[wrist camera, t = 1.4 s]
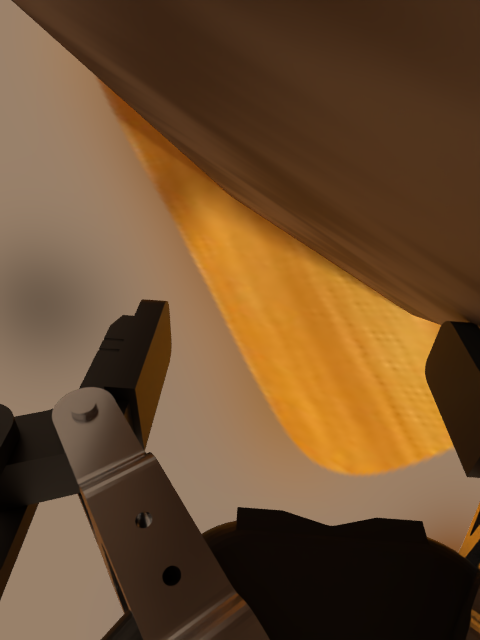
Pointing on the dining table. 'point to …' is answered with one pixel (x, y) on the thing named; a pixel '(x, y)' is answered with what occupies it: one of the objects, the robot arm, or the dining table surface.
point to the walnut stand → (316, 121)
